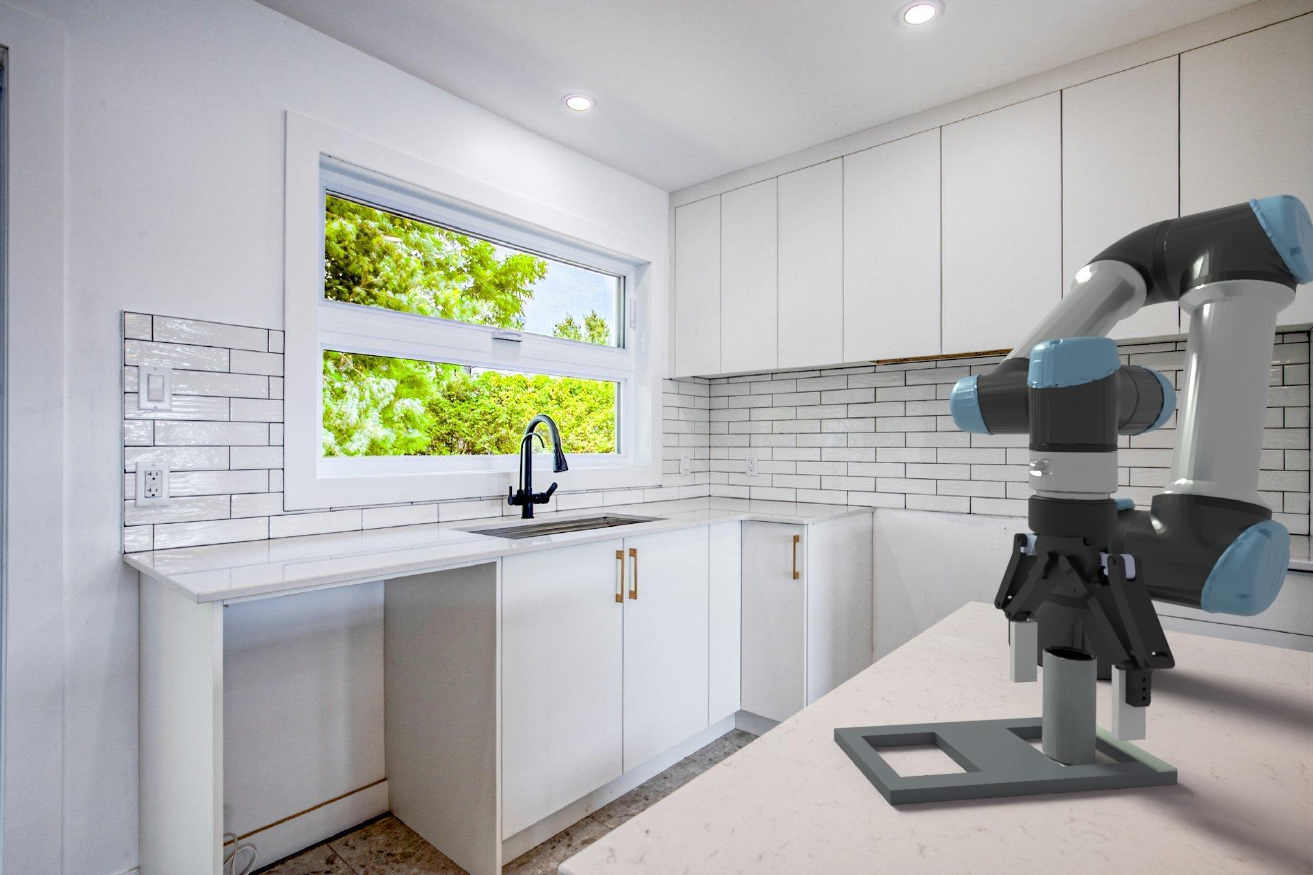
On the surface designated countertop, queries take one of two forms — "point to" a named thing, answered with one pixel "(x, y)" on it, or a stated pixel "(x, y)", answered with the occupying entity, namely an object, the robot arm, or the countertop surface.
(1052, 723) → the grey hollow cylinder
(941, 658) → the countertop surface
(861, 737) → the panel
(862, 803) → the countertop surface
